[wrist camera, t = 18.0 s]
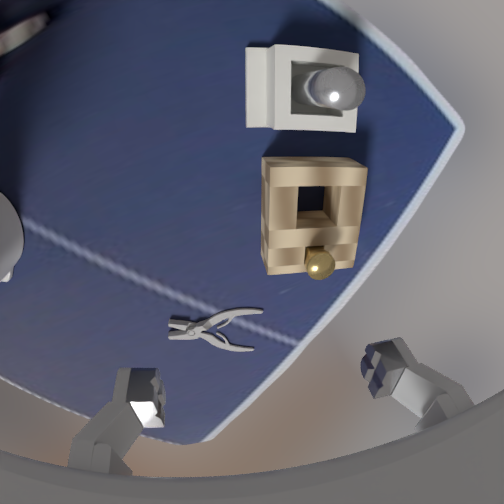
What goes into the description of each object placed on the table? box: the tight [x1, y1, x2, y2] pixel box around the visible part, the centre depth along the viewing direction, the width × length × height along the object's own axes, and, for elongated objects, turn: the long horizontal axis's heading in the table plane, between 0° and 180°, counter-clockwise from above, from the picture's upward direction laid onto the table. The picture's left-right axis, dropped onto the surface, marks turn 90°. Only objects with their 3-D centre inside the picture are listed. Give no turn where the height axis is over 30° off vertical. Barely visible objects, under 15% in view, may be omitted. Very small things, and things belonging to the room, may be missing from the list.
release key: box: [304, 246, 336, 280], centre depth 41 cm, size 4×4×8 cm
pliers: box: [168, 308, 263, 352], centre depth 51 cm, size 10×2×15 cm
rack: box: [245, 44, 359, 133], centre depth 32 cm, size 14×10×6 cm
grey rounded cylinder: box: [291, 67, 365, 111], centre depth 28 cm, size 4×4×12 cm
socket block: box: [261, 157, 368, 275], centre depth 40 cm, size 12×14×6 cm
